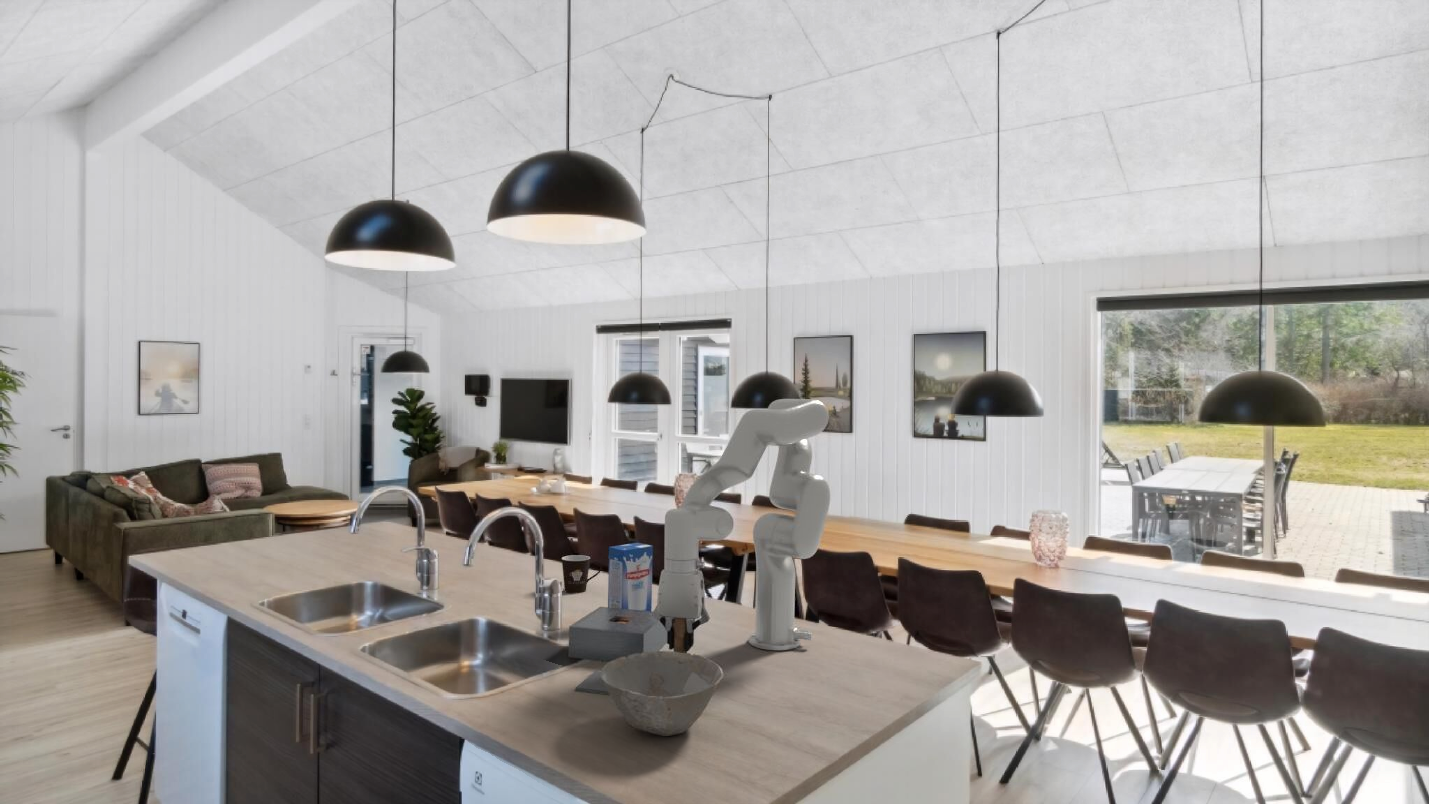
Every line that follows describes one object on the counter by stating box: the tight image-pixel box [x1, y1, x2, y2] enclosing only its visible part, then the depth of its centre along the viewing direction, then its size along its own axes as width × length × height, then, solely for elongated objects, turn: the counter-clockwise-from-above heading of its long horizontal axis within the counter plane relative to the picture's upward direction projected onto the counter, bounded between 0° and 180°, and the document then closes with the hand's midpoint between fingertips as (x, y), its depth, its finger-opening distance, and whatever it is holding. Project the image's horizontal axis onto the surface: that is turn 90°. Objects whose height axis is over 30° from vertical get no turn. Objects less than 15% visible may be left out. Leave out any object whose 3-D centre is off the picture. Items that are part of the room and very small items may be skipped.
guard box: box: [568, 606, 667, 663], centre depth 184 cm, size 18×18×7 cm
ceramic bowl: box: [600, 650, 724, 737], centre depth 141 cm, size 22×23×10 cm
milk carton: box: [607, 542, 654, 611], centre depth 207 cm, size 10×6×20 cm, turn 136°
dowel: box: [673, 618, 688, 654], centre depth 172 cm, size 3×3×14 cm
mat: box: [575, 670, 609, 695], centre depth 161 cm, size 10×10×1 cm
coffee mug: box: [561, 554, 603, 594], centre depth 238 cm, size 12×9×10 cm
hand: (680, 647), depth 172 cm, fingers closed on dowel, 3 cm apart
